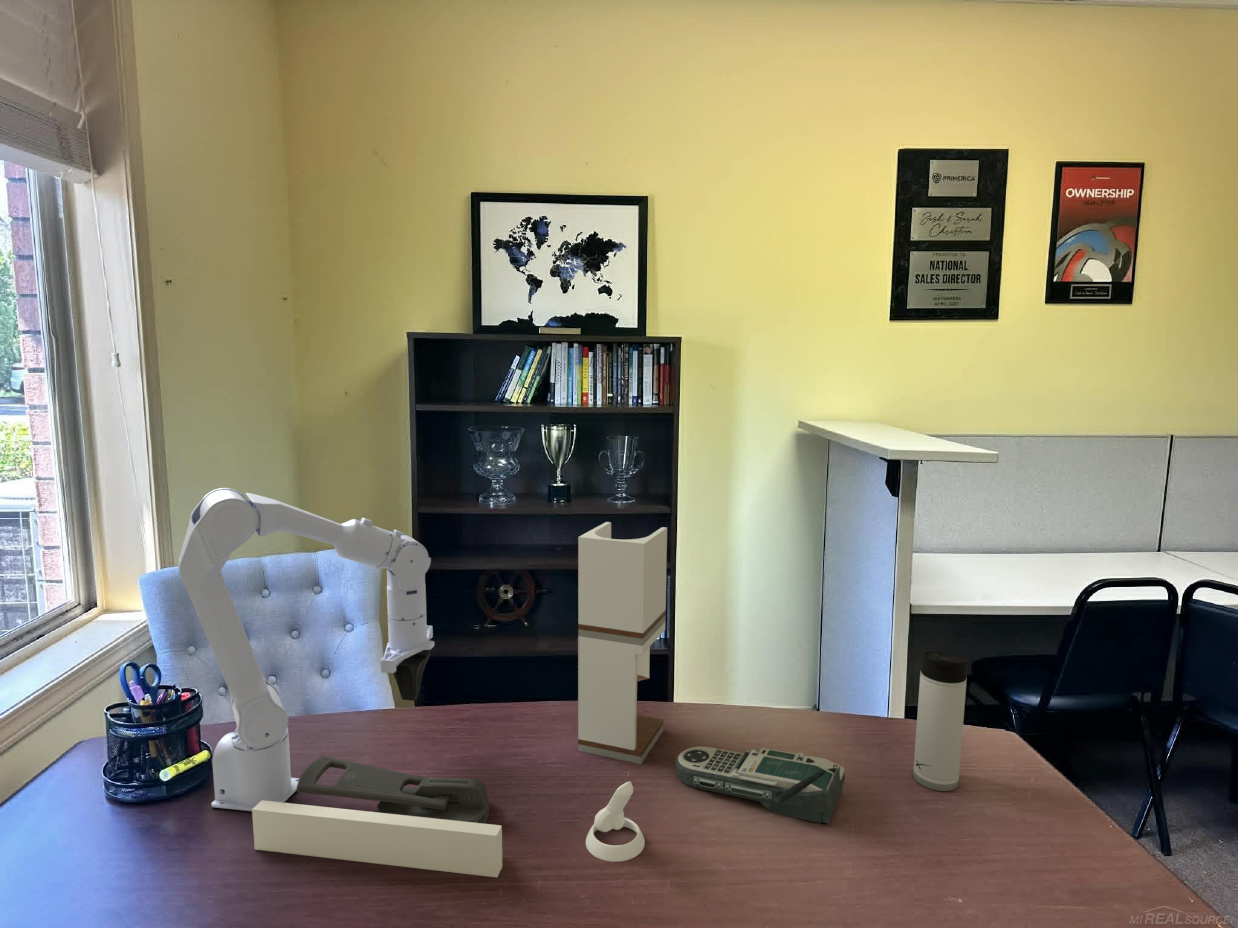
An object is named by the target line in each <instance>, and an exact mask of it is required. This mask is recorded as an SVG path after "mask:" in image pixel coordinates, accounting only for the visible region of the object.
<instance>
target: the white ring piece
mask: <svg viewBox="0 0 1238 928" xmlns="http://www.w3.org/2000/svg"><path fill="white" fill-rule="evenodd" d="M633 793H634V786H633V784H632V782H631V781H626V782H625V783H623V784H621V785H619V786H618V788H617V789H616V790H615V792H614V793H613V795H612V797H611V798H610V800H609V802H608V803H607V805H606V806H604V808H602V809H599V811H598V812H597V813H596V814H595V816H594V821H593V822H594V823H593V825H592V826H591V828H590V829H589V830H588V833H587V835H586V837H585V838H586V839H585V846H586V849H587V851H588V852H589V853H590V854H591V855H592V856H593V857H595V858H597V859H599V860H603V861H607V862H615V863H616V862H626V861H628V860H632V859H633V858H635V857H637V856H638V855H640V854H641V853H642V851H643V850H644V848H645V842H646V841H645V838H644V835H643V833H642V831H641V829H640V827H639V825H638V824H637V823H636V822H635V821H633V820H631V819H630V818H628V817H625V813H624V808H625V807H626V805H627V803H628V802H629V801H630V798H632V797H631V796H632V795H633ZM622 828H627V829H629V830H632V831H633V832H635V833H636V835H635V837H634V838H633V839H632V840H631V841H629V842H627V843H624V844H619V845H616V844H615V845H613V844H612V845H611V844H606V843H603V842H602V841H600V840H599V839H598V838H597V837H596V836H595V832H596V831H599V832H602V833H607V832H609V831H612V829H613V830H617V831H618V830H621V829H622Z"/></svg>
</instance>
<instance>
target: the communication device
mask: <svg viewBox="0 0 1238 928" xmlns="http://www.w3.org/2000/svg"><path fill="white" fill-rule="evenodd" d="M674 761H675V763H674V764H675V775H676V777H677V778H678V779H679V780H680V781H681V782H682V783H683V784H685V785H686V786H688V787H690V788H695V789H697V790H703V791H708V792H713V793H718V794H721V795H727V796H731V797H736V798H740V799H745V800H750V801H751V800H752V801H755V802H758V803H760V804H761V805H762V806H763V807H764V808H765V809H767V810H769V812H771V813H775V814H780V815H783V816H787V817H791V818H796V819H800V820H802V821H807V822H808V821H810V822H812V823H813V822H814V823H818V824H822V823H824V824H829V823H830V822H831V819H832V817H833V815H834V812H835V809H836V806H837V804H838V801H839V797H840V796H841V793H842V791H843V785H844V783H845V779H846V775H845V774H846V770H845V768H844V767H843V765H839V764H838V763H835V762H834V761H831V760H829V759H827V758H822V757H816V756H811V755H807V754H806V755H805V754H804V753H803V752H799V751H798V752H797V753H794V752H788V751H783V750H776V749H772V748H771V749H770V748H766V747H761V748H760V750H759V751H757V750H756V749H752V750H749V749H748V750H746V751H745V752H744V753H743V752H738V751H732V750H727V749H722V748H716V747H709V746H702V745H701V746H693V747H689V748H687V749H685V750H682V751H681V752H680V753H678V754H677V756H676V757H675V760H674Z"/></svg>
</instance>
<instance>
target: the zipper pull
mask: <svg viewBox="0 0 1238 928" xmlns="http://www.w3.org/2000/svg"><path fill="white" fill-rule="evenodd" d="M330 768H332V769H340V770H344V771H343V772H342V774H341V775H340V776H339V778H338V780H337V781H336V782H335V784H331V785H325V784H319V783H317V782H318V781H319V779H320V778H321V777H322V775H323V774H324V773H325V772H326V771H328V770H329V769H330ZM409 785H413V787H412V786H410V787H406V786H409ZM415 786H416V787H415ZM295 792H297V793H302V794H313V795H319V796H320V795H321V796H328V797H329V796H331V797H340V798H347V799H357V800H365V801H366V800H367V801H376V802H378V803H377V806H376V809H377V812H378V813H387V814H397V815H406V816H416V817H425V818H435V819H444V820H454V821H463V822H473V823H482V824H487V820H488V818H489V815H490V814H489V813H490V803H489V796H488V793H487V790H486V787H485V785H484V783H483V782H482V781H481V780H479V779H477V778H466V777H465V778H464V777H463V778H462V777H461V778H460V777H443V776H442V777H430V776H429V777H428V776H423V775H416V774H411V773H406V772H405V773H404V772H401V771H395V770H391V769H387V768H383V767H382V768H381V767H376V766H373V765H368V764H363V763H360V762H359V763H358V762H353V761H349V760H345V759H340V758H336V757H335V758H334V757H331V756H326V755H322V756H320V757H318V758H317V759H315V760H314V761H312V762H311V763H310V764H309V765H308V766H307V767H306V768H305V769H304V771H303V772H302V774H301V775H300V777H299V781H298V784H297V790H296V791H295Z"/></svg>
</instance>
